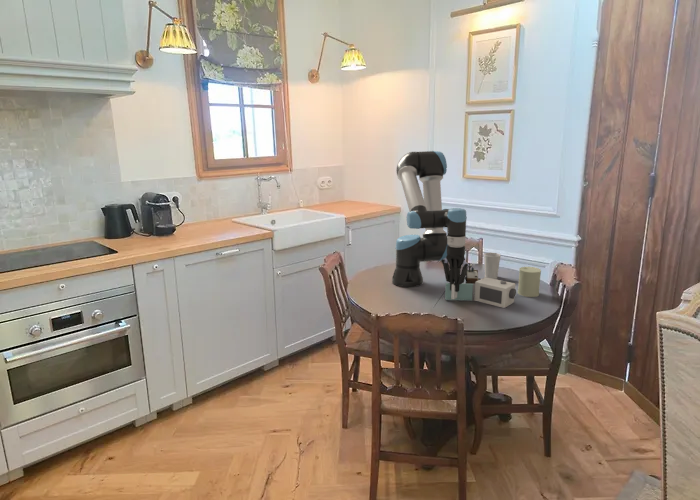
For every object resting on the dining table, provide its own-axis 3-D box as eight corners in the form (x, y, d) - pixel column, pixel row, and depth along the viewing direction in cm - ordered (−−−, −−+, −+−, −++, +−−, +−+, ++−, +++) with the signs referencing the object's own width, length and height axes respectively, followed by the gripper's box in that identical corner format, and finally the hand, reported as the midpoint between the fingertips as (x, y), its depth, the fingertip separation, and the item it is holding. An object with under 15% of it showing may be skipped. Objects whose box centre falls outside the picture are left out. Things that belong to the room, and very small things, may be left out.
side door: (473, 299, 202) (474, 282, 200) (474, 300, 200) (475, 284, 198) (444, 298, 203) (445, 282, 201) (445, 299, 201) (445, 283, 199)
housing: (474, 300, 201) (475, 280, 199) (484, 294, 207) (485, 275, 205) (506, 308, 191) (508, 287, 189) (516, 302, 197) (517, 282, 195)
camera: (481, 293, 210) (482, 272, 207) (464, 292, 212) (465, 271, 210) (481, 283, 224) (482, 263, 221) (465, 281, 226) (466, 262, 224)
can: (523, 288, 214) (525, 264, 211) (542, 293, 208) (544, 268, 205) (513, 293, 208) (515, 268, 205) (533, 298, 202) (535, 272, 199)
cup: (501, 276, 233) (502, 253, 230) (496, 280, 226) (498, 257, 223) (485, 274, 237) (486, 251, 234) (480, 278, 231) (482, 255, 228)
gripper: (438, 244, 194) (436, 297, 200) (465, 249, 186) (462, 303, 191) (447, 241, 200) (446, 292, 205) (474, 245, 191) (472, 299, 197)
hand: (454, 298), depth 198 cm, fingers closed
